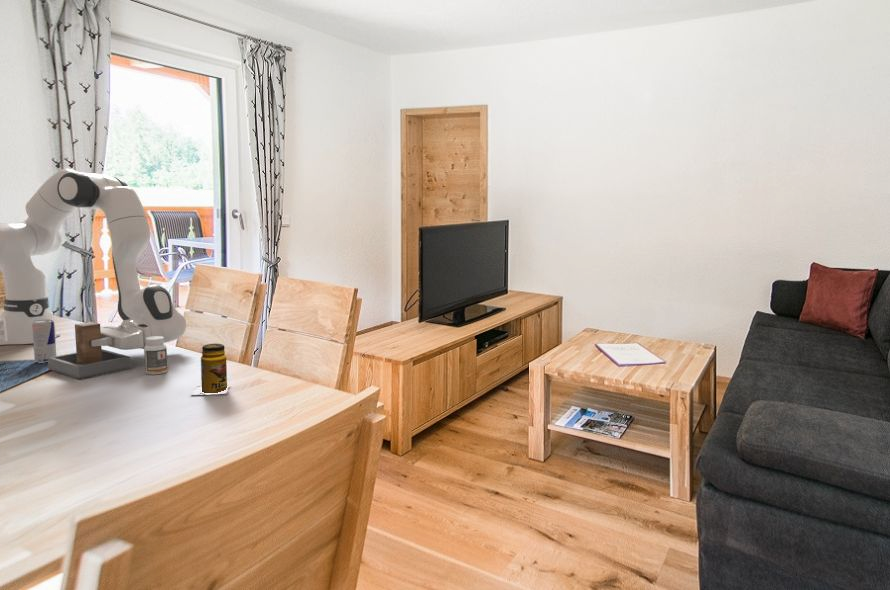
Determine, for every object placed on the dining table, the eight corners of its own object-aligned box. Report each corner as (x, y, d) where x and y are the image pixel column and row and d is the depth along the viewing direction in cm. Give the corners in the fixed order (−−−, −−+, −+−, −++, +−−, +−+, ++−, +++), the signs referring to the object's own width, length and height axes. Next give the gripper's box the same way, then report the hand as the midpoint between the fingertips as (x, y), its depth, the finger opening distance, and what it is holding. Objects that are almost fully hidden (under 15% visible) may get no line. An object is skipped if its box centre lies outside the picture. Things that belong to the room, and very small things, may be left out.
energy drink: (61, 359, 176) (58, 319, 174) (47, 364, 171) (44, 323, 169) (44, 358, 177) (41, 318, 175) (30, 363, 171) (27, 322, 170)
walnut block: (77, 362, 166) (74, 324, 164) (93, 359, 170) (91, 321, 168) (85, 365, 164) (83, 326, 162) (102, 362, 168) (100, 323, 166)
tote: (48, 369, 165) (47, 357, 165) (99, 359, 177) (98, 348, 177) (79, 379, 157) (78, 367, 157) (130, 368, 169) (130, 356, 168)
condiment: (226, 395, 148) (225, 348, 147) (190, 396, 147) (188, 349, 145) (230, 386, 155) (229, 341, 154) (195, 387, 154) (194, 342, 152)
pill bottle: (172, 371, 167) (171, 337, 166) (154, 376, 162) (153, 340, 161) (158, 368, 170) (156, 334, 168) (140, 373, 165) (138, 338, 163)
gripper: (112, 319, 182) (64, 326, 170) (153, 327, 171) (104, 335, 160) (113, 339, 183) (66, 347, 171) (154, 349, 172) (106, 358, 160)
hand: (85, 342), depth 165 cm, fingers closed on walnut block, 4 cm apart
